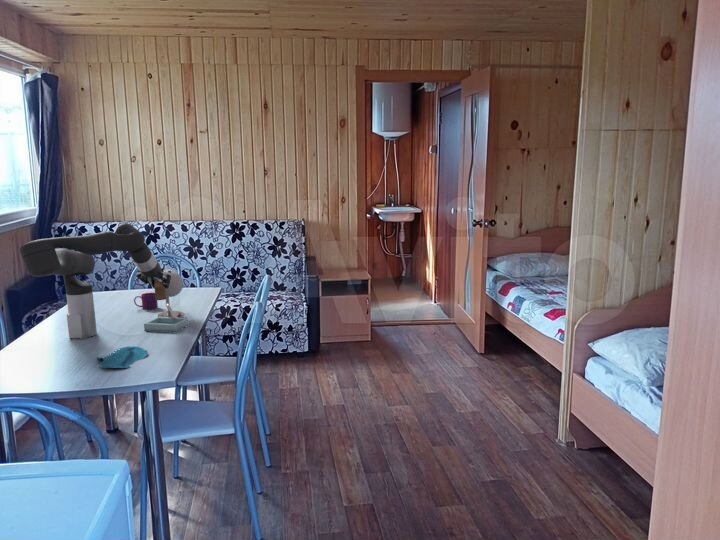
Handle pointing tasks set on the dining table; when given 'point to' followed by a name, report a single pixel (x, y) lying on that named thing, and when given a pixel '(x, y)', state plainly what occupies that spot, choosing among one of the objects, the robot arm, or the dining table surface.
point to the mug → (148, 301)
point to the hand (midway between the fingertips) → (161, 287)
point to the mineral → (123, 357)
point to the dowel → (159, 290)
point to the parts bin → (166, 324)
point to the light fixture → (173, 290)
